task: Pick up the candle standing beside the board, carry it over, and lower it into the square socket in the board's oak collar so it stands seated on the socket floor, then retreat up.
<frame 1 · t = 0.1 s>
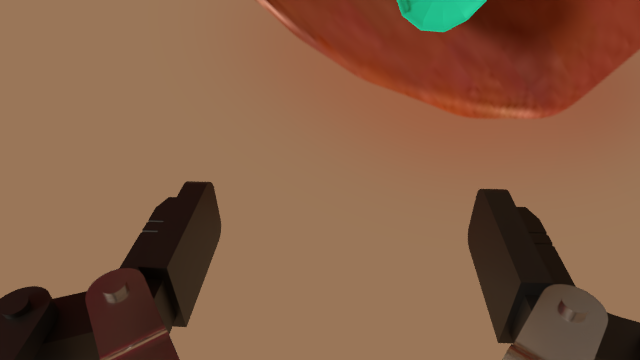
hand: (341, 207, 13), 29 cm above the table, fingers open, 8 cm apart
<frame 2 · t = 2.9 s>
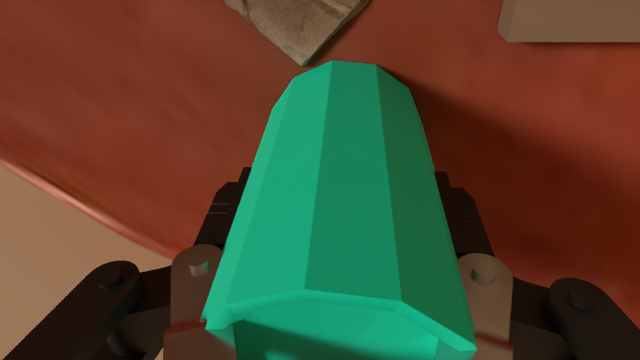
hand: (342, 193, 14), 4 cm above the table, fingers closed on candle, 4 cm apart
candle: (345, 130, 17), on the table, touching gripper
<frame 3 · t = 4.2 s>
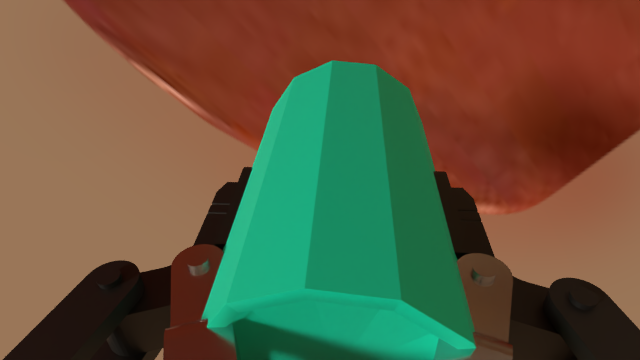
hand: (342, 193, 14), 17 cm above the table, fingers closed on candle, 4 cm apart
candle: (345, 130, 17), point 13 cm above the table, touching gripper
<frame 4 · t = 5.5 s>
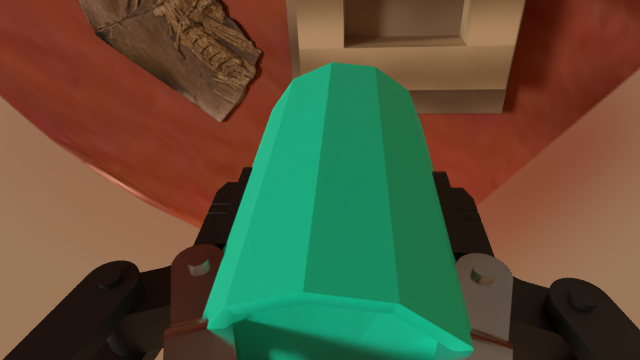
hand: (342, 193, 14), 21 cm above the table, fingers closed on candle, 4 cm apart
candle: (344, 132, 17), point 17 cm above the table, touching gripper
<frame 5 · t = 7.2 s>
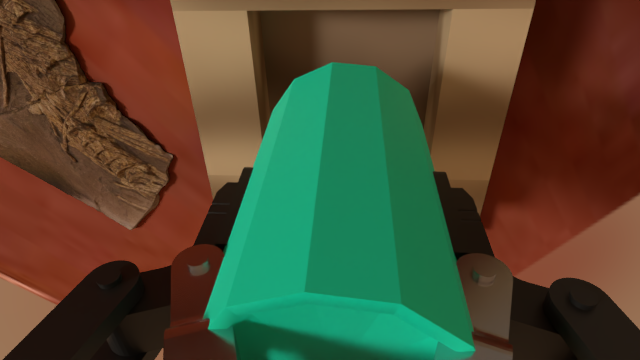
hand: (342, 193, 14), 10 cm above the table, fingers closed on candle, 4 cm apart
candle: (345, 132, 17), point 6 cm above the table, touching gripper
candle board: (347, 72, 22), on the table
when the fingers open (6 cm above the table, at t = 8.5 s): candle stays where it is, resting on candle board.
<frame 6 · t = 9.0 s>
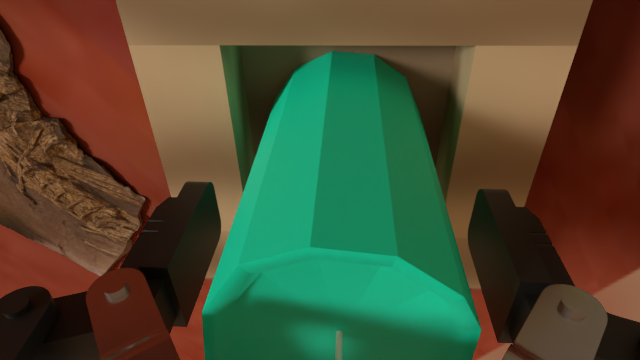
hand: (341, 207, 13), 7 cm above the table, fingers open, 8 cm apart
candle: (345, 119, 18), point 1 cm above the table, touching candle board
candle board: (345, 109, 19), on the table
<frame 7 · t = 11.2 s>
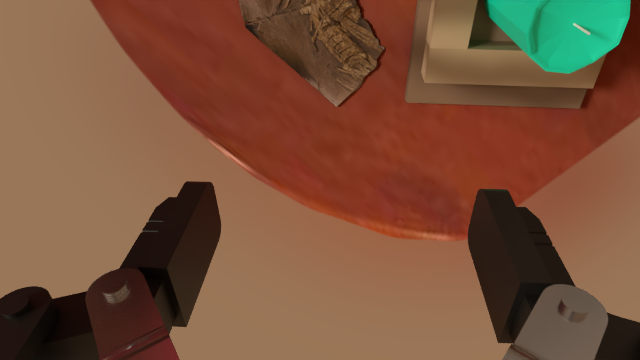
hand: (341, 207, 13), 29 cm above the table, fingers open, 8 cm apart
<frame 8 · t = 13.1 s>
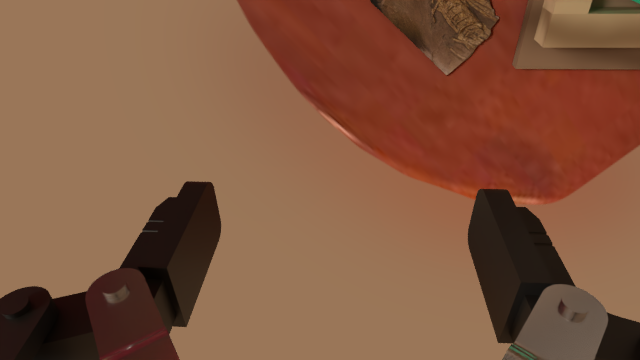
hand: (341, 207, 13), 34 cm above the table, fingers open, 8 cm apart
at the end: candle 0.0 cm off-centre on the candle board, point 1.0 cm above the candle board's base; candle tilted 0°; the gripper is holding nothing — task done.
